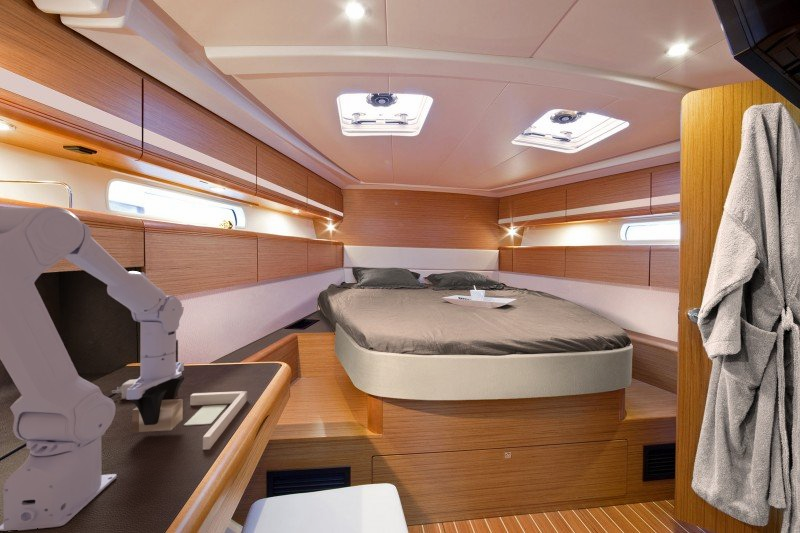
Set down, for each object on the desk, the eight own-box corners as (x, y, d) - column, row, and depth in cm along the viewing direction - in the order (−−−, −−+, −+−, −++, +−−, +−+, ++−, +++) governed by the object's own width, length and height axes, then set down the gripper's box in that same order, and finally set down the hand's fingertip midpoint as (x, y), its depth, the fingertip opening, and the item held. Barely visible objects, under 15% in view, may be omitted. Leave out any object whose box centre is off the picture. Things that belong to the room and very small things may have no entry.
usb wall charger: (141, 398, 78) (141, 383, 77) (109, 401, 76) (109, 385, 76) (150, 391, 81) (149, 377, 81) (119, 394, 80) (119, 379, 80)
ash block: (171, 430, 60) (171, 408, 60) (132, 432, 59) (132, 410, 59) (182, 419, 64) (182, 398, 64) (146, 421, 63) (146, 400, 63)
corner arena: (209, 449, 58) (209, 436, 57) (134, 454, 56) (134, 441, 56) (247, 400, 77) (247, 391, 77) (192, 403, 75) (192, 393, 75)
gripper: (156, 364, 55) (156, 437, 55) (198, 342, 69) (198, 400, 69) (113, 366, 54) (113, 439, 54) (164, 343, 68) (164, 402, 68)
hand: (158, 417), depth 61 cm, fingers closed on ash block, 4 cm apart
